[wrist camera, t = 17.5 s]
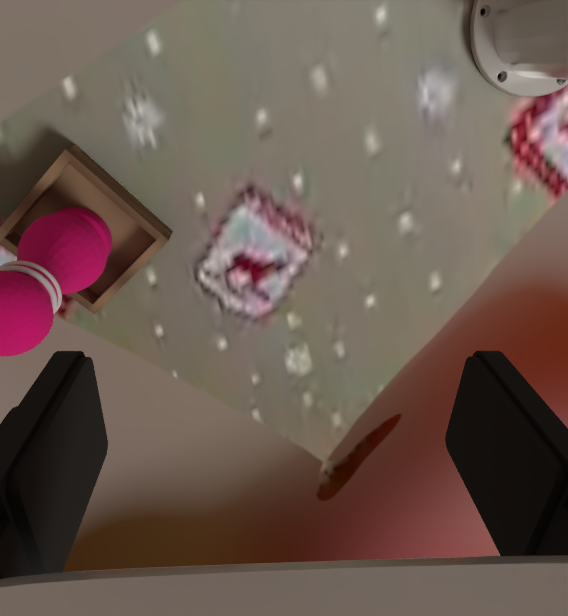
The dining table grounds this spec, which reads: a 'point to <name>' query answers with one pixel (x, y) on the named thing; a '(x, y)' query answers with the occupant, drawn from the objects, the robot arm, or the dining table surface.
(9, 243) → the walnut tray
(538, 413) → the robot arm
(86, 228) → the magenta pepper mill
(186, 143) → the dining table surface
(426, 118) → the dining table surface
